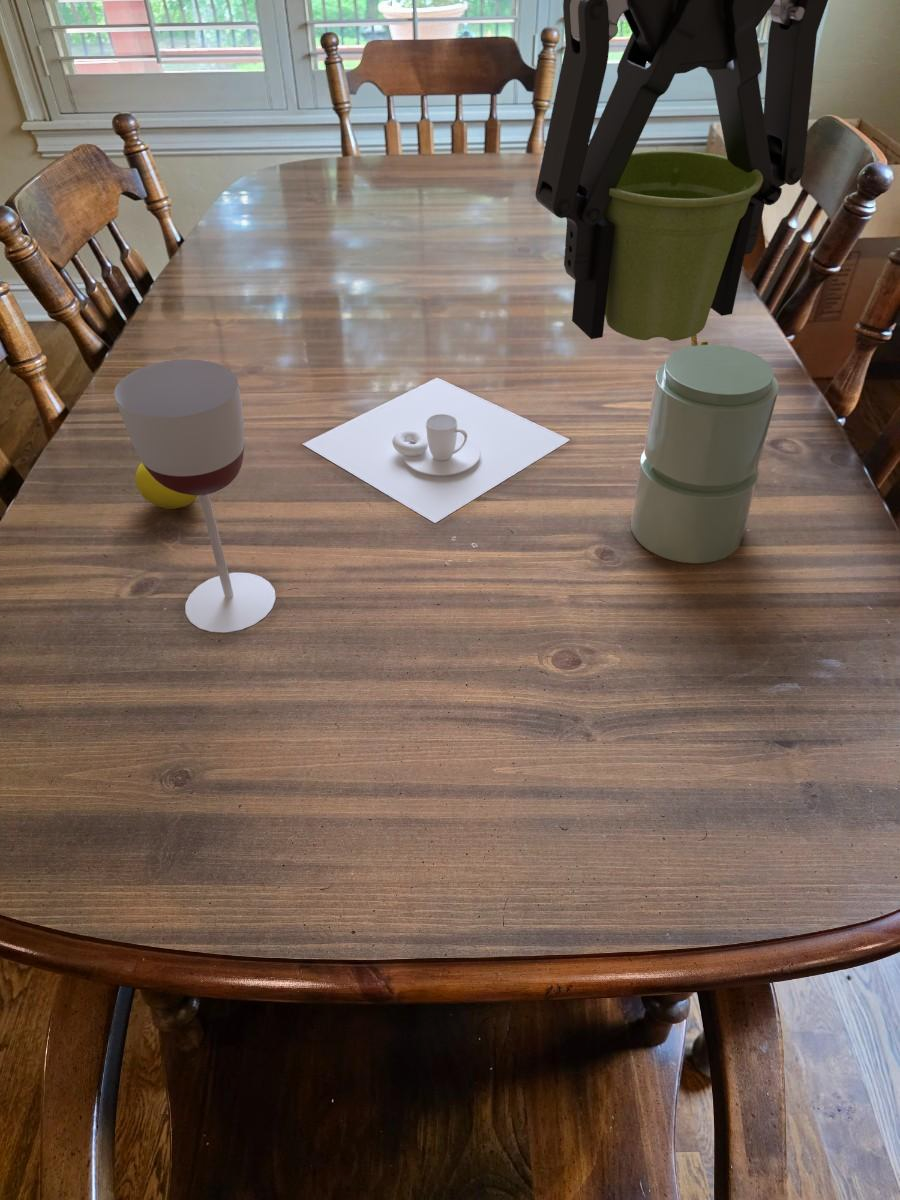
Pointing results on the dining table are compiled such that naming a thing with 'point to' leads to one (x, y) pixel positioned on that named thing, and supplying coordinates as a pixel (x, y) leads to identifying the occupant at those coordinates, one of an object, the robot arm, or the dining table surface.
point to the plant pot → (672, 240)
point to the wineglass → (196, 467)
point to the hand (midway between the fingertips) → (652, 317)
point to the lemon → (160, 491)
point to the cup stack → (702, 452)
